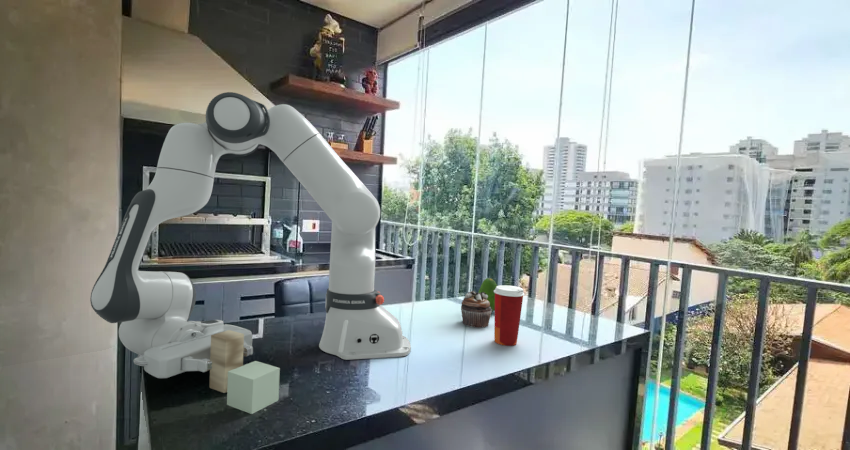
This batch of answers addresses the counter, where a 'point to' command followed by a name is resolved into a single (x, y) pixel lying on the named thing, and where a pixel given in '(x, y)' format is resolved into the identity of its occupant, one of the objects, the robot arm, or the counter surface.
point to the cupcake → (476, 310)
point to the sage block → (253, 386)
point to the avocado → (489, 291)
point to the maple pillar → (225, 357)
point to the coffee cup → (507, 314)
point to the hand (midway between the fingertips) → (230, 358)
